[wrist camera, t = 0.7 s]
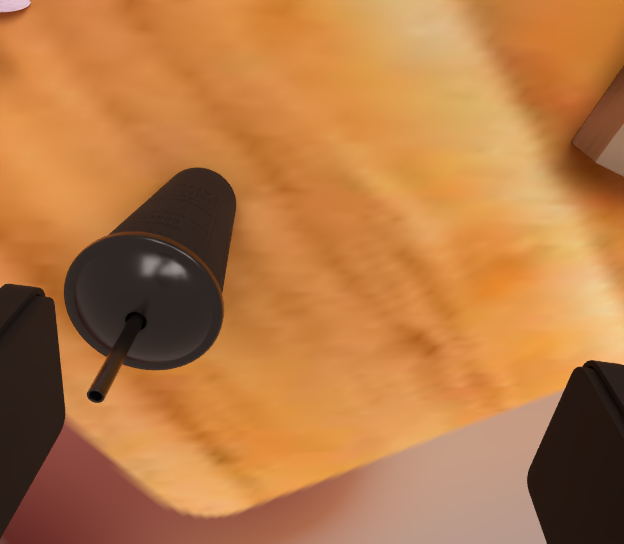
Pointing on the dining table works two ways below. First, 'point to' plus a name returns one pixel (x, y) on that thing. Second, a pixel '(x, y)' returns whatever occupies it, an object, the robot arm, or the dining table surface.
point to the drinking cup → (156, 279)
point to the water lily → (13, 5)
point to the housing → (605, 129)
